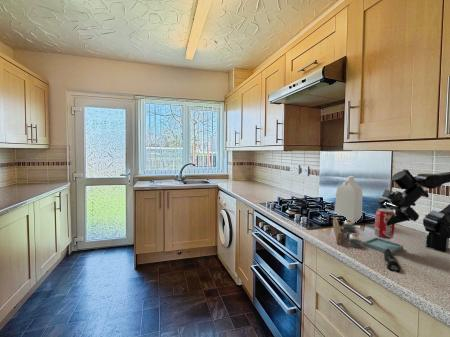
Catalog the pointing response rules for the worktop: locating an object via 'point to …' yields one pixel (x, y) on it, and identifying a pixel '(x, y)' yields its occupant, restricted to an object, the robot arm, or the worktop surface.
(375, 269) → the worktop surface
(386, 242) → the tray
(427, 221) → the robot arm
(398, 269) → the electric trimmer
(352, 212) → the milk
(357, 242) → the clip rack
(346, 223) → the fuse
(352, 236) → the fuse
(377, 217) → the soda can
